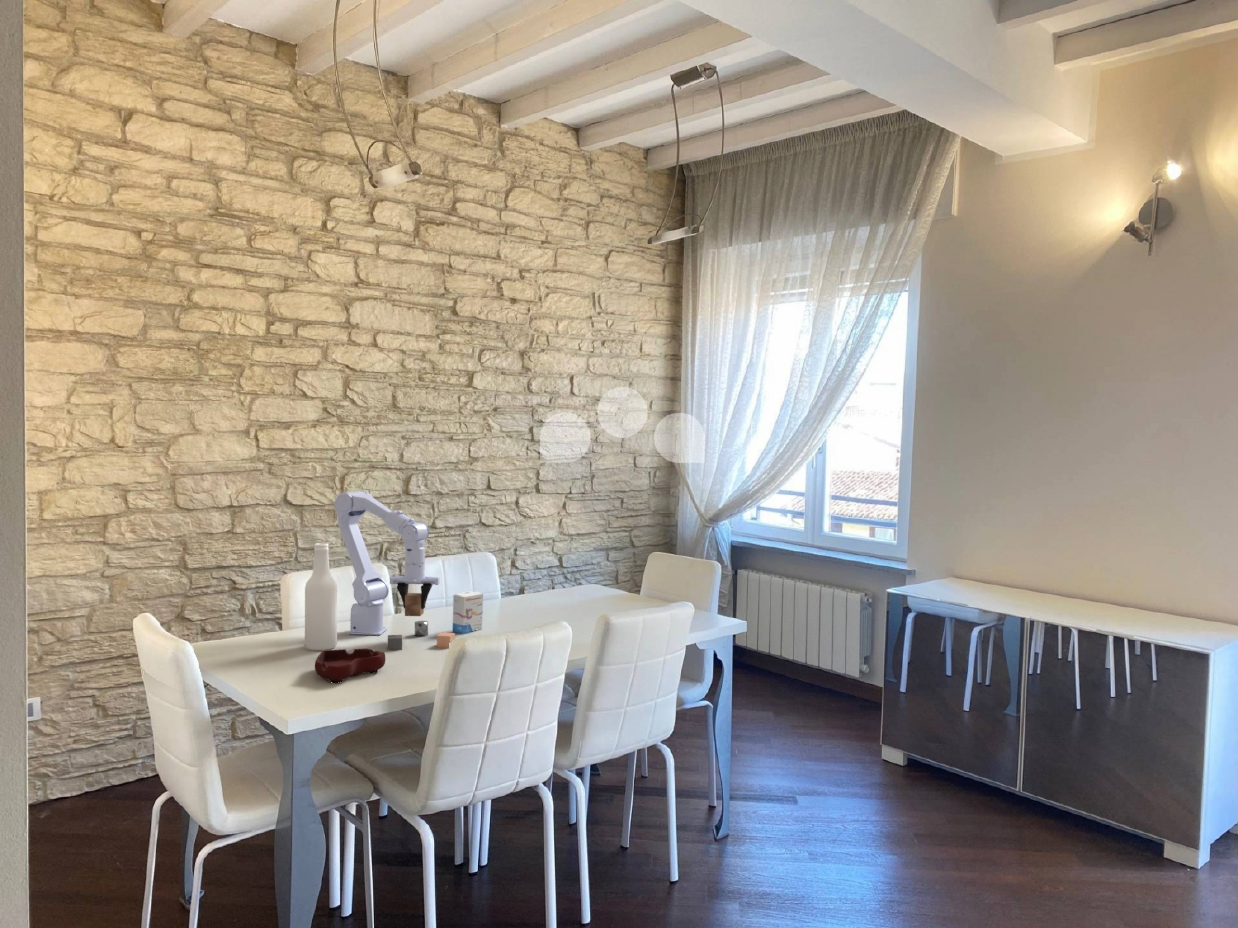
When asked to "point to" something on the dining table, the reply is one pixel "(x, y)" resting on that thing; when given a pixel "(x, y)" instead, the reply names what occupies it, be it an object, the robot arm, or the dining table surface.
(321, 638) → the white bottle
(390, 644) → the charcoal rubber block
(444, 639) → the terracotta block
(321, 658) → the ashtray
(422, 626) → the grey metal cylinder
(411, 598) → the walnut block
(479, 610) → the ink box
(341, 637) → the dining table surface
